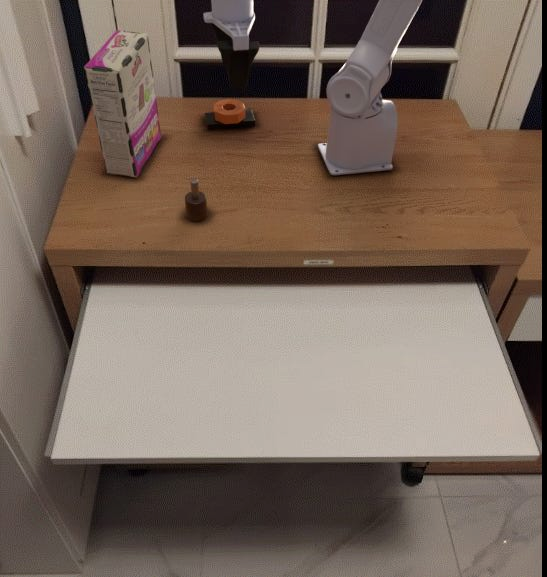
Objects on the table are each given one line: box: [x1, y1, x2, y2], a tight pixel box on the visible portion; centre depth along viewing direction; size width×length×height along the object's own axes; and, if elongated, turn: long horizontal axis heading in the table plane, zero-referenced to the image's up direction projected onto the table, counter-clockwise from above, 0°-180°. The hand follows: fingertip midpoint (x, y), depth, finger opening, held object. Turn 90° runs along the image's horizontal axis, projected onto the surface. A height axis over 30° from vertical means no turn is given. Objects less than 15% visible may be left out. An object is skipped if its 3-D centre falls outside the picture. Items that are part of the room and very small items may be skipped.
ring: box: [212, 98, 246, 124], centre depth 100 cm, size 5×5×2 cm
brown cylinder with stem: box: [184, 178, 208, 222], centre depth 83 cm, size 3×3×6 cm
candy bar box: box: [83, 30, 162, 179], centre depth 89 cm, size 11×5×16 cm, turn 168°
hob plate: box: [204, 108, 256, 131], centre depth 101 cm, size 8×4×1 cm, turn 102°
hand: (234, 76), depth 95 cm, fingers open, 7 cm apart
